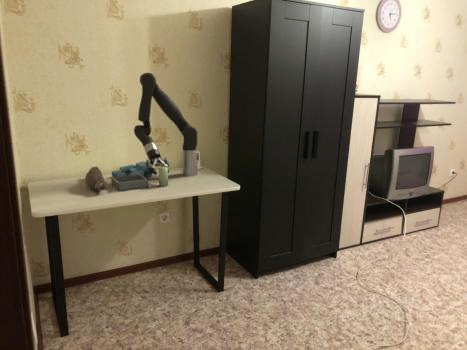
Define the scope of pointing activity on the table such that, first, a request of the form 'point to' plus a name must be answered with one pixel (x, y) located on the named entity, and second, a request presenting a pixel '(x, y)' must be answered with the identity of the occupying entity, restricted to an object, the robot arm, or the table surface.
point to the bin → (129, 182)
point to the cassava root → (95, 179)
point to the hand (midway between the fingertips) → (162, 173)
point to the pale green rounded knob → (163, 176)
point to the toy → (134, 170)
